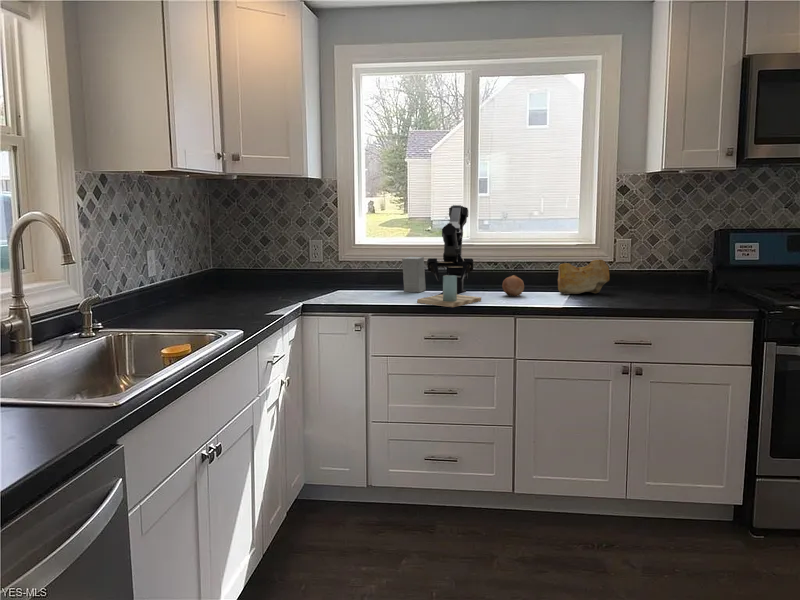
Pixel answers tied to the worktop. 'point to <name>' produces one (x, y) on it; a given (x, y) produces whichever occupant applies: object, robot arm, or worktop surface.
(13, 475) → the worktop surface
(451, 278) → the ceramic jar
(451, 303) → the oak board
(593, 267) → the rough brown rock
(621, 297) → the worktop surface
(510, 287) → the onion
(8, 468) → the worktop surface
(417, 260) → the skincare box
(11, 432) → the worktop surface
